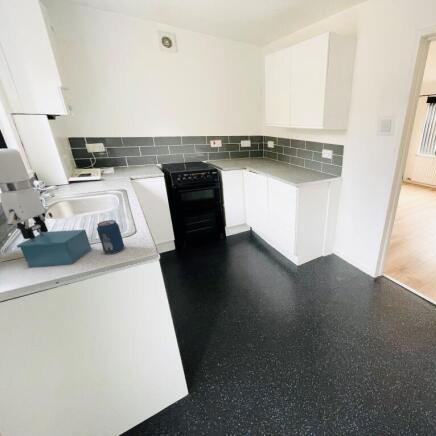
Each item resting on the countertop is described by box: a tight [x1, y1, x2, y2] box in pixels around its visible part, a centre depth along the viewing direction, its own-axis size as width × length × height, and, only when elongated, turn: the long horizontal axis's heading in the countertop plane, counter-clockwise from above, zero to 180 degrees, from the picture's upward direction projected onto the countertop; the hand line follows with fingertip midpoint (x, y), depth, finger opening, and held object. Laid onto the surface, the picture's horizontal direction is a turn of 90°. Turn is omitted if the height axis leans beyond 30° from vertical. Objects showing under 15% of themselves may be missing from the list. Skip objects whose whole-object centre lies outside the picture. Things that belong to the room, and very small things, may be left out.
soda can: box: [96, 219, 125, 255], centre depth 96 cm, size 7×7×12 cm
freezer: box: [19, 231, 92, 268], centre depth 92 cm, size 14×12×8 cm
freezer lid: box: [16, 223, 86, 248], centre depth 90 cm, size 15×12×6 cm
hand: (36, 234), depth 89 cm, fingers closed on freezer lid, 5 cm apart
